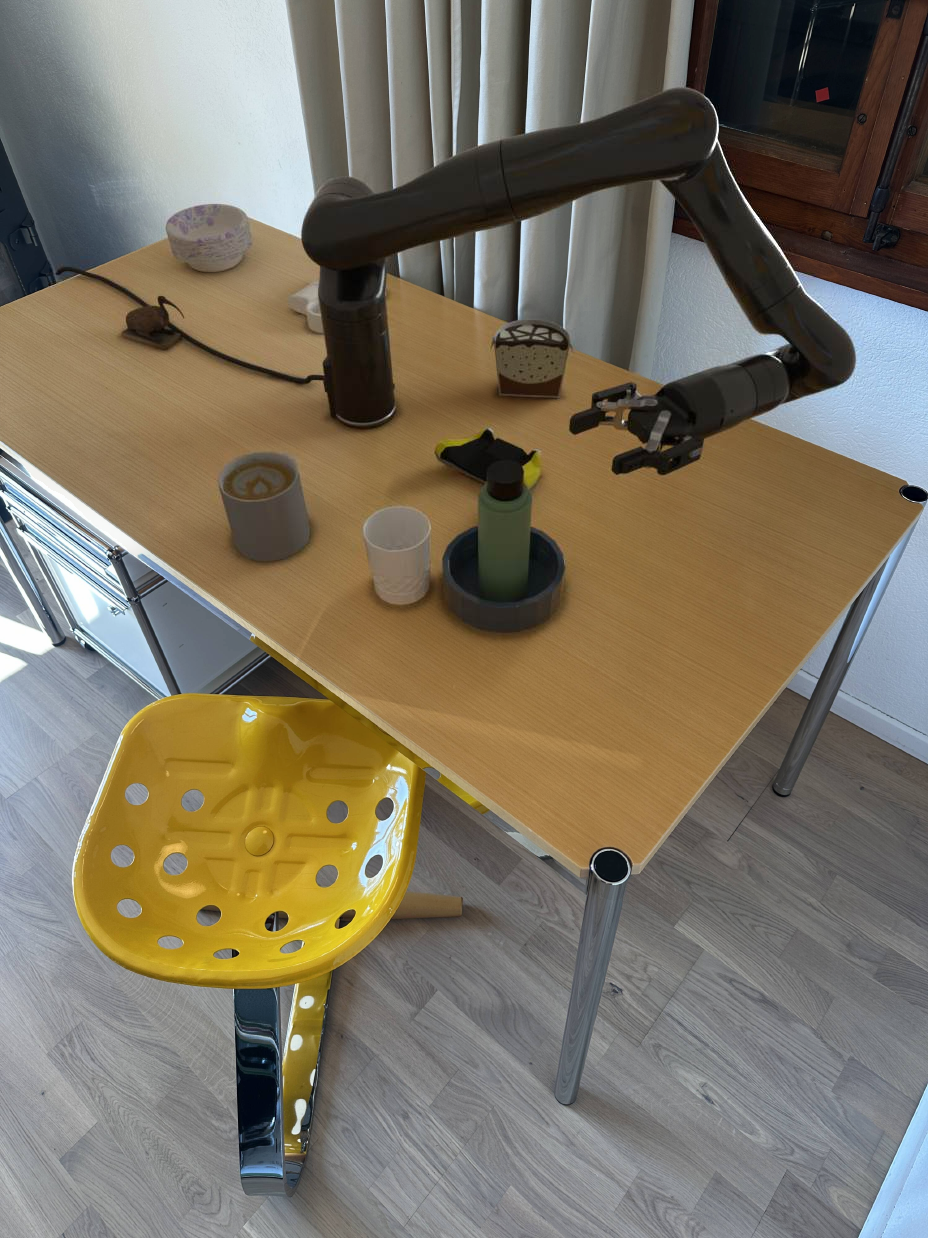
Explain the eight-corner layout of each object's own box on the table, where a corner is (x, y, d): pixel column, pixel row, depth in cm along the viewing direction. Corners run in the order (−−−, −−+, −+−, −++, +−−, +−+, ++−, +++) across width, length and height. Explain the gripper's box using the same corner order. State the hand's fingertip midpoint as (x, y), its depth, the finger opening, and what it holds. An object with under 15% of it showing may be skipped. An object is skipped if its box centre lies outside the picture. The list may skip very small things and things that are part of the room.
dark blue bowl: (429, 622, 104) (427, 593, 101) (461, 542, 114) (460, 513, 110) (548, 646, 102) (551, 617, 98) (571, 561, 111) (575, 532, 107)
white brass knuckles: (342, 276, 163) (404, 297, 157) (276, 317, 153) (340, 341, 148) (340, 258, 161) (403, 279, 155) (273, 299, 151) (338, 323, 145)
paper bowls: (220, 287, 161) (209, 244, 155) (159, 268, 166) (147, 227, 160) (272, 253, 170) (264, 212, 164) (212, 237, 175) (203, 196, 169)
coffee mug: (281, 571, 111) (266, 510, 103) (219, 546, 114) (200, 486, 106) (339, 509, 118) (329, 449, 111) (279, 488, 122) (266, 428, 114)
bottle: (472, 600, 106) (471, 484, 92) (485, 567, 110) (485, 450, 96) (521, 609, 105) (526, 493, 91) (531, 575, 109) (538, 459, 95)
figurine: (202, 343, 148) (189, 295, 141) (184, 356, 145) (170, 307, 139) (139, 324, 152) (124, 276, 146) (121, 336, 150) (105, 288, 143)
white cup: (370, 567, 111) (362, 507, 103) (432, 563, 111) (428, 503, 104) (371, 613, 105) (362, 553, 98) (436, 608, 106) (432, 548, 98)
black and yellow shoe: (515, 519, 117) (557, 480, 122) (516, 486, 112) (560, 448, 118) (429, 476, 123) (472, 441, 128) (427, 444, 119) (472, 410, 124)
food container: (569, 376, 139) (574, 318, 132) (569, 398, 135) (574, 339, 128) (492, 373, 140) (493, 315, 133) (489, 394, 136) (490, 336, 129)
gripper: (673, 347, 104) (559, 386, 99) (754, 406, 96) (633, 452, 91) (664, 401, 110) (555, 440, 105) (739, 461, 101) (625, 507, 96)
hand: (592, 445), depth 98 cm, fingers open, 8 cm apart
